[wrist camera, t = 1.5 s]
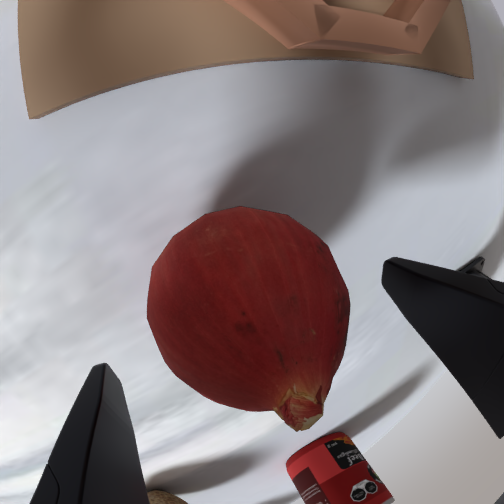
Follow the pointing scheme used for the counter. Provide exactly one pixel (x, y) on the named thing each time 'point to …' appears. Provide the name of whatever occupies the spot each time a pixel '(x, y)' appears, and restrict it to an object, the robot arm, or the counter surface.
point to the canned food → (335, 473)
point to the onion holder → (222, 39)
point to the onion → (251, 313)
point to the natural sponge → (164, 498)
